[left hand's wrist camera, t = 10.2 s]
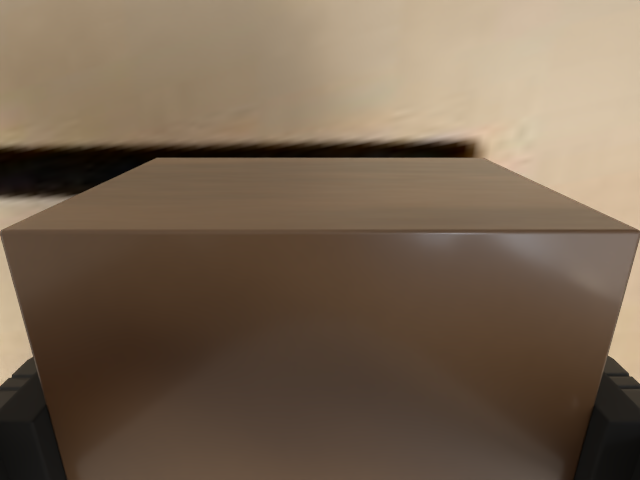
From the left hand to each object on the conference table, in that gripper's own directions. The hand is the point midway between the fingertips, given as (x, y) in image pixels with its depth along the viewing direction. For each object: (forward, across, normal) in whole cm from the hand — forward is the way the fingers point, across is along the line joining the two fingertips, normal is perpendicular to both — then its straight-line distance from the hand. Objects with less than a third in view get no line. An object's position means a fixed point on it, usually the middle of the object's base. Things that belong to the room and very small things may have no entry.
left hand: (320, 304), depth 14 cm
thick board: (0, 0, -26) cm, 26 cm away
